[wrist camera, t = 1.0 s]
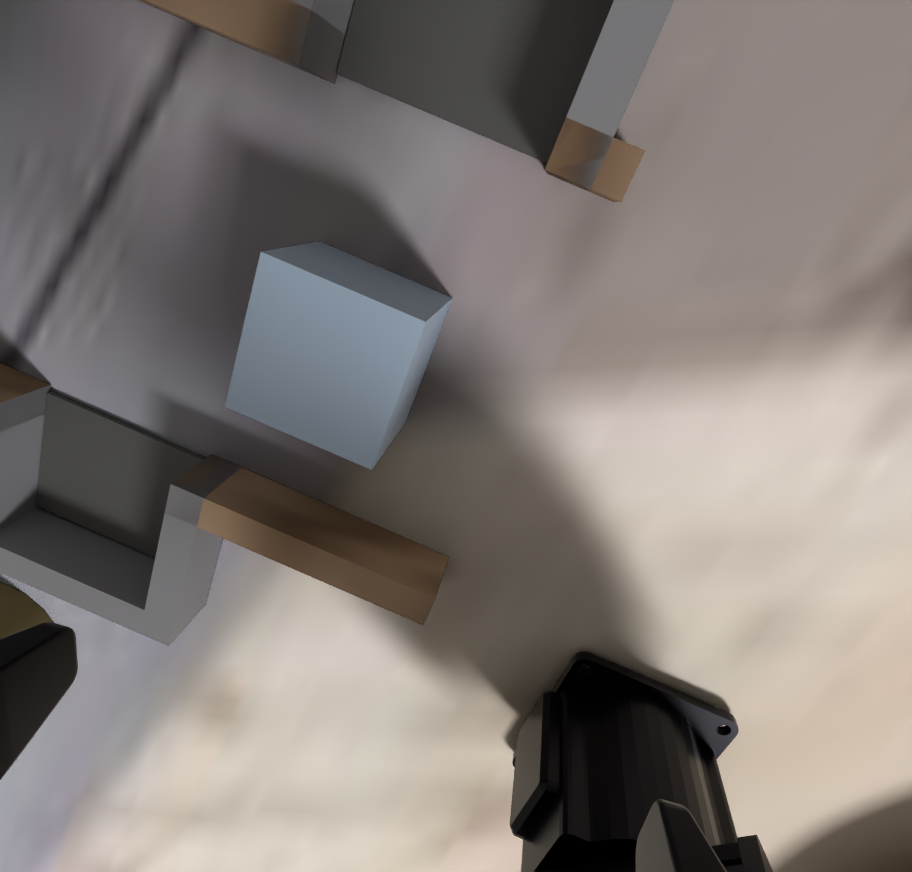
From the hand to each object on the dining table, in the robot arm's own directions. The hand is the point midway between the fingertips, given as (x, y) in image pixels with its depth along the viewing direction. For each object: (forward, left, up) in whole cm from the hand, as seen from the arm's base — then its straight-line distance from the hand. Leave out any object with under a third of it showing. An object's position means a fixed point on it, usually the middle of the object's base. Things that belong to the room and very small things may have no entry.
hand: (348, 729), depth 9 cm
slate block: (+4, -2, -12) cm, 13 cm away
